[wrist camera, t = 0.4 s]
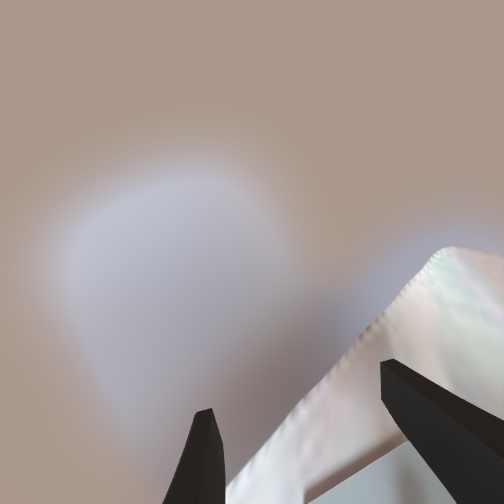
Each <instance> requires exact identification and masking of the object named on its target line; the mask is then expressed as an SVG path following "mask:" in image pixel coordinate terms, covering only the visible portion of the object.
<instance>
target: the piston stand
mask: <svg viewBox="0 0 504 504" xmlns="http://www.w3.org/2000/svg"><path fill="white" fill-rule="evenodd" d="M308 504H457V503H456V502H455V501H454V499H453V498H452V496H451V495H450V494H449V492H448V491H447V489H446V488H445V487H444V486H443V484H442V483H441V482H440V480H439V479H438V478H437V476H436V475H435V474H434V473H433V471H432V470H431V469H430V467H429V466H428V465H427V463H426V462H425V461H424V460H423V458H422V457H421V456H420V454H419V453H418V452H417V450H416V449H415V448H414V447H413V445H412V444H411V443H410V441H409V440H407V441H406V442H404V443H402V444H401V445H399V446H398V447H396V448H395V449H393V450H391V451H390V452H388V453H387V454H385V455H384V456H382V457H380V458H379V459H377V460H376V461H374V462H373V463H371V464H369V465H368V466H366V467H365V468H363V469H362V470H360V471H358V472H357V473H355V474H354V475H352V476H351V477H349V478H347V479H346V480H344V481H343V482H341V483H340V484H338V485H336V486H335V487H333V488H332V489H330V490H329V491H327V492H325V493H324V494H322V495H321V496H319V497H318V498H316V499H314V500H313V501H311V502H310V503H308Z"/></svg>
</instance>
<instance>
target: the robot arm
mask: <svg viewBox="0 0 504 504" xmlns="http://www.w3.org/2000/svg"><path fill="white" fill-rule="evenodd" d="M380 371H381V400H382V401H383V403H384V404H385V406H386V408H387V409H388V411H389V413H390V414H391V416H392V417H393V419H394V421H395V422H396V424H397V425H398V427H399V428H400V429H401V431H402V432H403V433H404V435H405V436H406V437H407V439H408V440H409V441H410V443H411V444H412V445H413V447H414V448H415V449H416V450H417V452H418V453H419V454H420V456H421V457H422V458H423V460H424V461H425V462H426V463H427V465H428V466H429V467H430V469H431V470H432V471H433V473H434V474H435V475H436V476H437V478H438V479H439V480H440V482H441V483H442V484H443V486H444V487H445V488H446V489H447V491H448V492H449V494H450V495H451V496H452V498H453V499H454V501H455V502H456V503H457V504H504V420H502V419H500V418H498V417H496V416H494V415H492V414H490V413H488V412H486V411H484V410H482V409H480V408H478V407H477V406H475V405H473V404H471V403H469V402H467V401H465V400H464V399H462V398H460V397H458V396H456V395H455V394H453V393H451V392H449V391H448V390H446V389H444V388H442V387H441V386H439V385H437V384H435V383H434V382H432V381H430V380H429V379H427V378H425V377H424V376H422V375H420V374H419V373H417V372H415V371H414V370H412V369H410V368H409V367H407V366H405V365H404V364H402V363H400V362H399V361H397V360H395V359H390V360H387V361H383V362H380ZM162 504H225V463H224V450H223V443H222V440H221V436H220V433H219V430H218V426H217V423H216V420H215V416H214V413H213V410H212V408H210V409H207V410H203V411H199V412H197V413H196V414H195V416H194V419H193V423H192V426H191V430H190V432H189V435H188V438H187V441H186V444H185V448H184V450H183V453H182V456H181V458H180V461H179V464H178V466H177V469H176V472H175V474H174V477H173V479H172V482H171V485H170V487H169V489H168V492H167V494H166V497H165V499H164V501H163V503H162Z"/></svg>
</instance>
